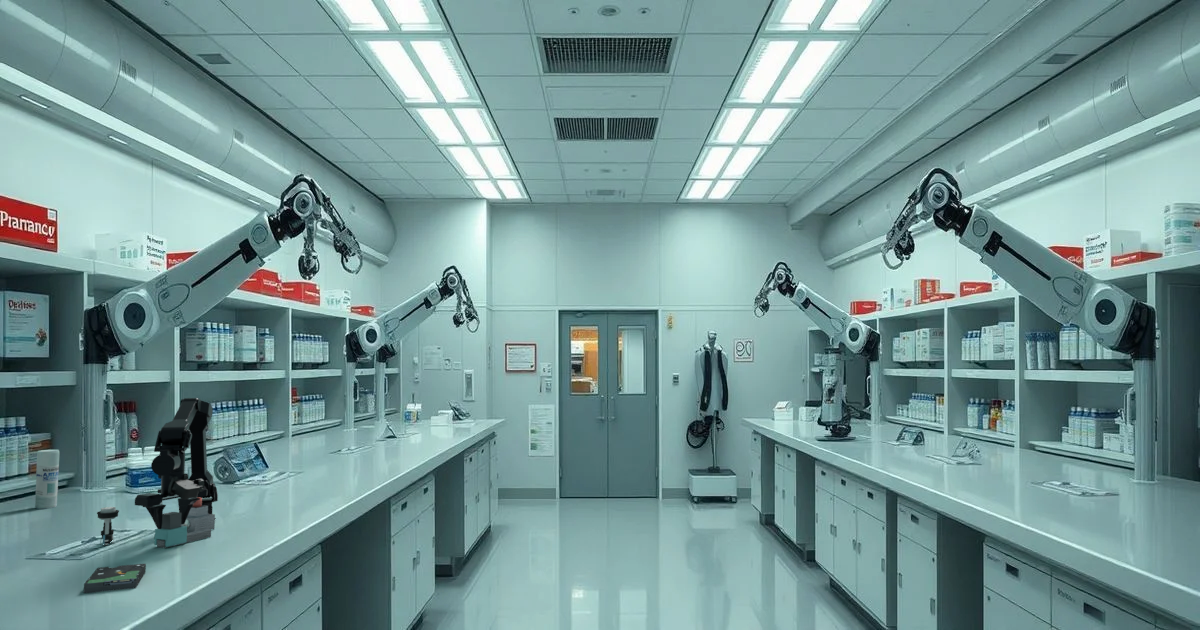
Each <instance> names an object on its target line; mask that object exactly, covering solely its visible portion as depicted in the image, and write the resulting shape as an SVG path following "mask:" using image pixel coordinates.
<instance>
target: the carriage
mask: <svg viewBox="0 0 1200 630" xmlns="http://www.w3.org/2000/svg"><path fill="white" fill-rule="evenodd" d="M181 515H182V513H180V512H179V511H178V512H177V511H171V512H166V513H165V512H163V517H162V528H161V529H157V528H155V529H154V540H153V541H154V543H153V545H154V546H157V540H159V539H162V540H165V547H168V548H170V547H169V546H172V547H174V546H173V545H176V546H178V545H177V544H180V545H182V544H181V543H184V544H186V543H185V542H187V526H181Z"/></svg>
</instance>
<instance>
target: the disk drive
mask: <svg viewBox="0 0 1200 630" xmlns="http://www.w3.org/2000/svg"><path fill="white" fill-rule="evenodd" d="M146 568H147V563H137V564H125V565H118V566H115V567H109V566H102V567H97V568H96V569H95V570H94V572H93V573H92V574H91V575H90V577H89V578H87V580H85V583H84V584H83V594H89V593H90V594H91V593H99V592H100V593H101V592H111V591H119V590H120V591H122V590H131V589H136V588H137V587H138V586H139V584H140V582H141V580H142V579H143V577H144V576H145V574H146Z"/></svg>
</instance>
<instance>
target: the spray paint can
mask: <svg viewBox="0 0 1200 630" xmlns="http://www.w3.org/2000/svg"><path fill="white" fill-rule="evenodd" d="M60 453H61V452H60V449H42V450H38V451H37V453H36V469H35V470H36V473H35V497H34V498H35V500H34V503H35V504H34V507H35V509H38V510H39V509H40V510H43V509H51V508H56V507H57V505H58V490H59V487H58V486H59V471H60V470H59V468H60Z"/></svg>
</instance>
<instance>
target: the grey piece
mask: <svg viewBox="0 0 1200 630" xmlns="http://www.w3.org/2000/svg"><path fill="white" fill-rule="evenodd" d="M215 518H216V514H213V513H212V514H208V506H206V505H202V506H201V507H193V506H192V507H191V509H190V512H189V514H188V516H187V519H186V521H185V524H181V526H187V533H190V532H194V531H198V530H203V529H206V530H211V529H213V530H215V528H216V527H215V526H216V525H215V523H216V522H215V521H216V520H215ZM211 531H212V530H211Z"/></svg>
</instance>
